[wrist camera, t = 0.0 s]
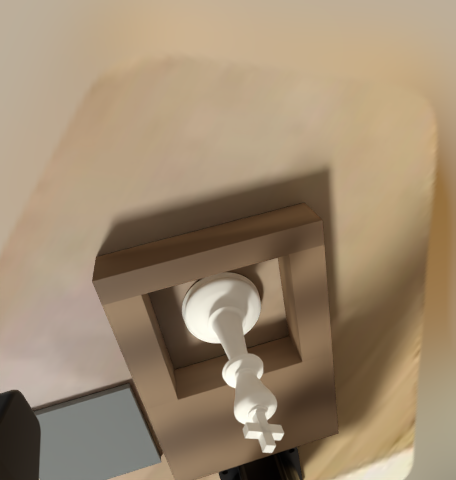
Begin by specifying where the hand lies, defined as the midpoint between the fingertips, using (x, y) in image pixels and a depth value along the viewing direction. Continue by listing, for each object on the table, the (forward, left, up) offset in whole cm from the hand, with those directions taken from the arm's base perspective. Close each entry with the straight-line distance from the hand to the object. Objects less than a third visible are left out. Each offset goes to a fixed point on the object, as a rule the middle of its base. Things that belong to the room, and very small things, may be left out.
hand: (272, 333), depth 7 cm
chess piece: (-10, 0, -15) cm, 18 cm away
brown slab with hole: (-14, 0, -15) cm, 20 cm away
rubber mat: (-18, +11, -15) cm, 26 cm away
